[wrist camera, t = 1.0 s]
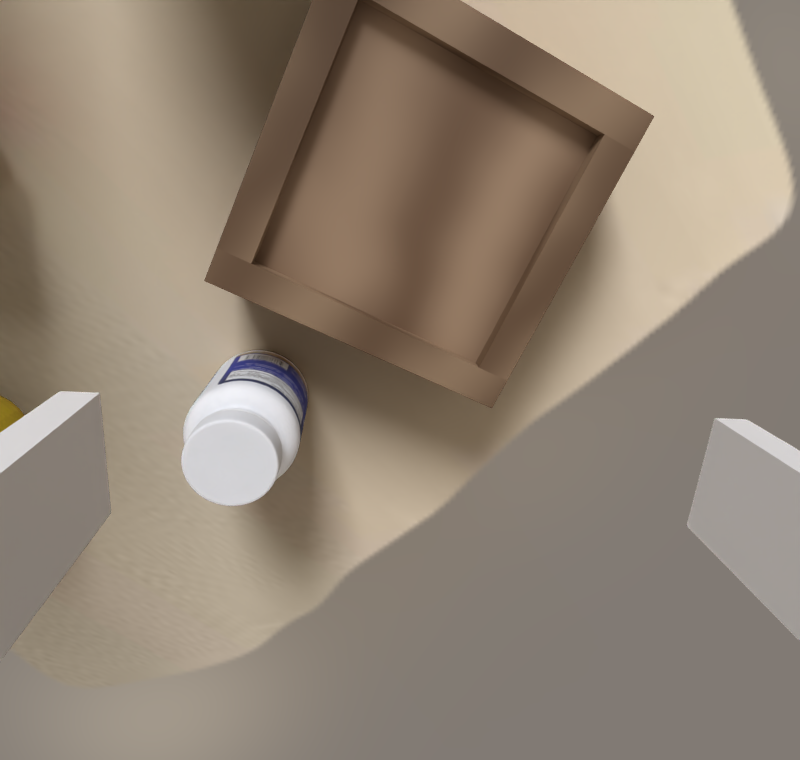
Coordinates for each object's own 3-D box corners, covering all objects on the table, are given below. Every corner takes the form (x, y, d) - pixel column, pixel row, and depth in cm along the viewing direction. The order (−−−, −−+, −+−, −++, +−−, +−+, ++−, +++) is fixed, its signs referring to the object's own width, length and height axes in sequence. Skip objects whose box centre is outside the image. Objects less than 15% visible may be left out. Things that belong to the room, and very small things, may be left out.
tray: (232, 263, 30) (204, 280, 24) (343, -17, 26) (339, -72, 21) (469, 371, 33) (491, 408, 27) (598, 130, 29) (654, 116, 24)
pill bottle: (260, 454, 33) (228, 543, 25) (193, 389, 32) (134, 461, 23) (329, 397, 33) (320, 469, 24) (263, 328, 31) (229, 379, 23)
